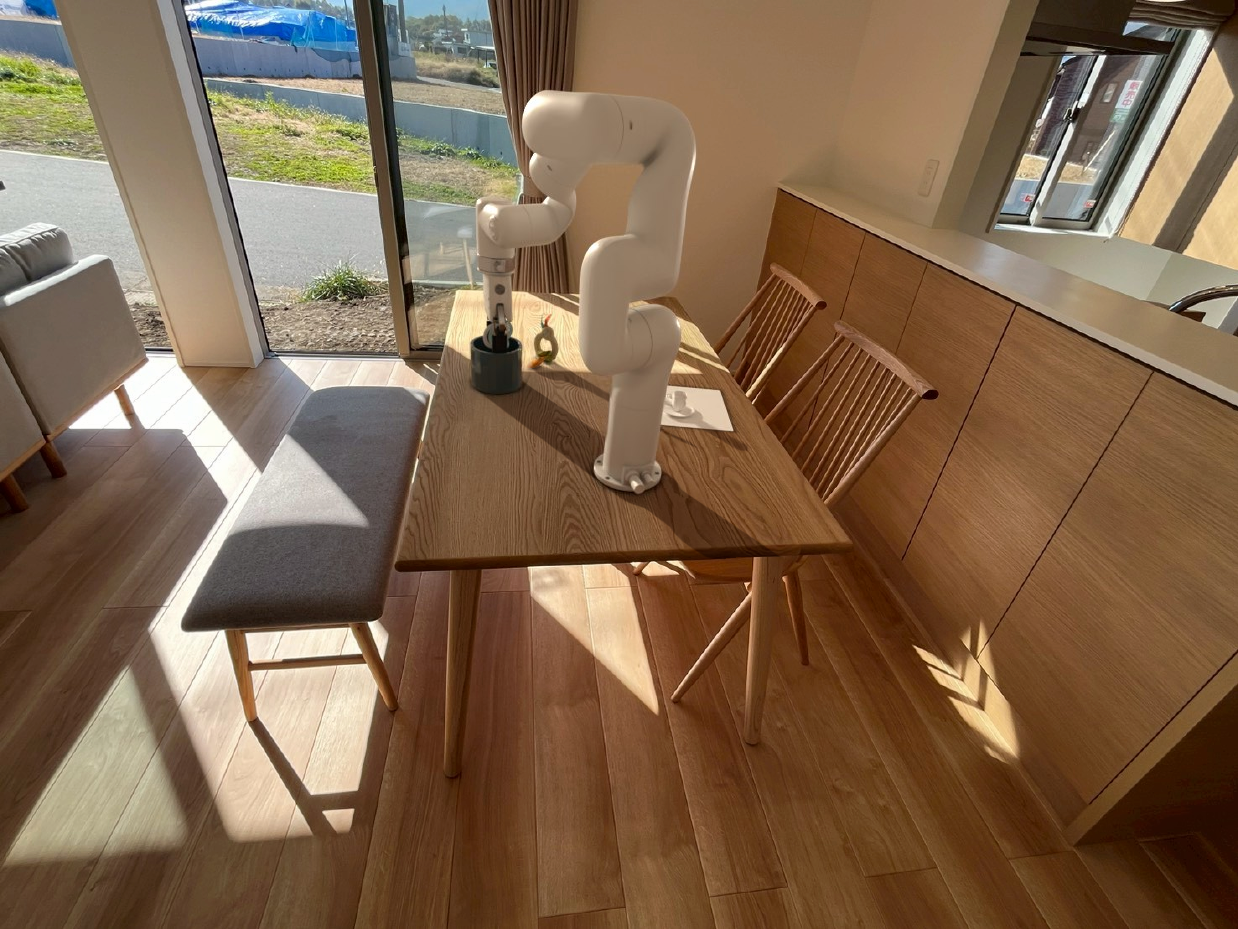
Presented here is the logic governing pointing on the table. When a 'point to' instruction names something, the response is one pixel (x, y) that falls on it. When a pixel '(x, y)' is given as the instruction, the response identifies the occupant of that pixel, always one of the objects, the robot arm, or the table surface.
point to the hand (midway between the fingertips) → (496, 344)
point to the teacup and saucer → (695, 409)
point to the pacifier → (490, 327)
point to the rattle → (542, 355)
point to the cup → (496, 367)
